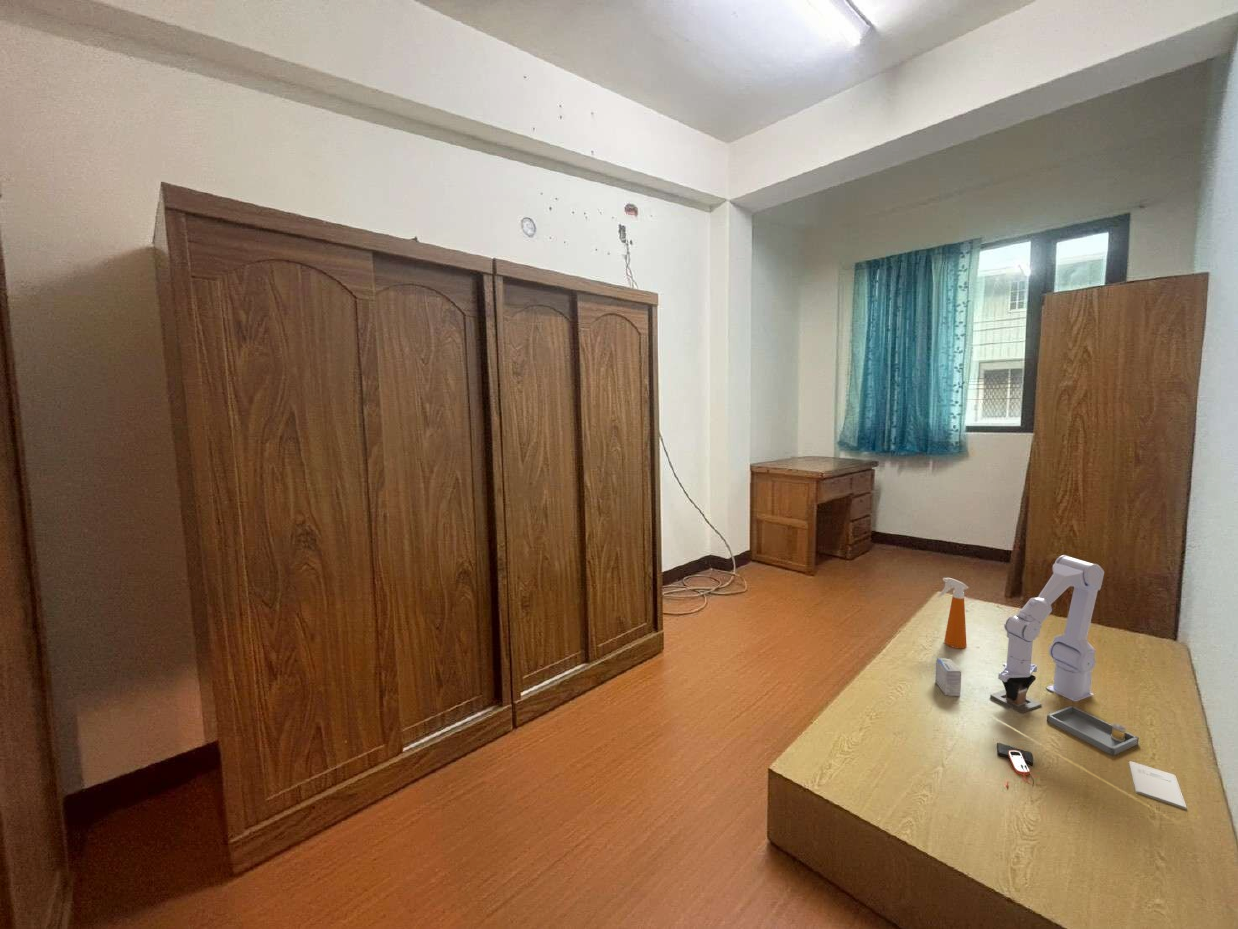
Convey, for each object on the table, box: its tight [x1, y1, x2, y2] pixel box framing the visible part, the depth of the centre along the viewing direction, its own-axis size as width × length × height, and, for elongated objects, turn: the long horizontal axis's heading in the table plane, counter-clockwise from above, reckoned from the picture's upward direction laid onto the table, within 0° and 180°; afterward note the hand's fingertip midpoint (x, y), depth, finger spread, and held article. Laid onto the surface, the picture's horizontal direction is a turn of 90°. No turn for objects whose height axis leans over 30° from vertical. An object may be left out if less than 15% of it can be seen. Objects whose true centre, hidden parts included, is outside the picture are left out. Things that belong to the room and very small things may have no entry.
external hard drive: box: [1128, 760, 1188, 811], centre depth 121 cm, size 2×8×12 cm
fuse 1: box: [1005, 686, 1028, 706], centre depth 154 cm, size 4×4×6 cm
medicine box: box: [934, 657, 962, 697], centre depth 162 cm, size 8×4×9 cm, turn 168°
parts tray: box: [1046, 705, 1139, 757], centre depth 140 cm, size 11×15×2 cm
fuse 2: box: [1111, 722, 1127, 743], centre depth 137 cm, size 3×3×4 cm
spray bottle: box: [936, 577, 970, 649], centre depth 189 cm, size 7×11×26 cm, turn 82°
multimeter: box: [996, 742, 1035, 789], centre depth 127 cm, size 18×12×3 cm, turn 140°
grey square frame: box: [989, 689, 1043, 714], centre depth 154 cm, size 9×9×1 cm
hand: (1015, 697), depth 154 cm, fingers open, 4 cm apart
